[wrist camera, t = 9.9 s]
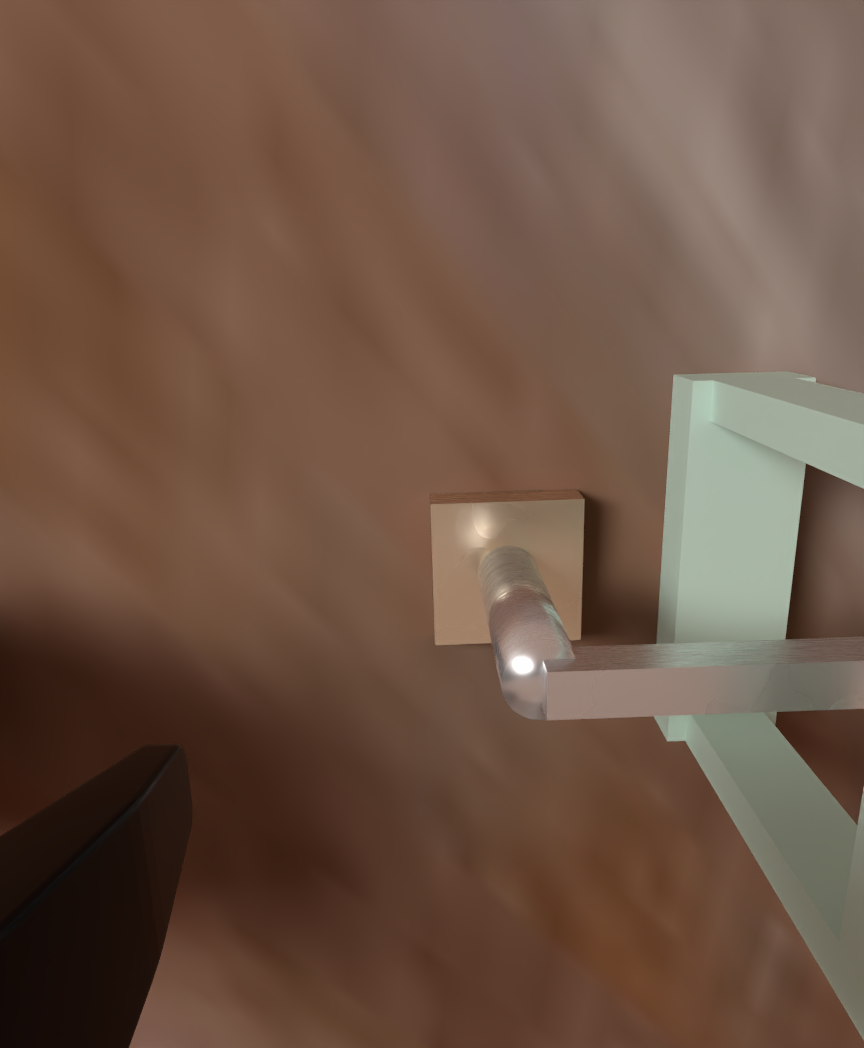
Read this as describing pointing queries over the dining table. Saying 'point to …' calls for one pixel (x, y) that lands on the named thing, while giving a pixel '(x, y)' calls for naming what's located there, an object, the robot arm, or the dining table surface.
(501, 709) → the dining table surface
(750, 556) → the mint green frame
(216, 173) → the dining table surface
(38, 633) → the dining table surface
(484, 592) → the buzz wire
